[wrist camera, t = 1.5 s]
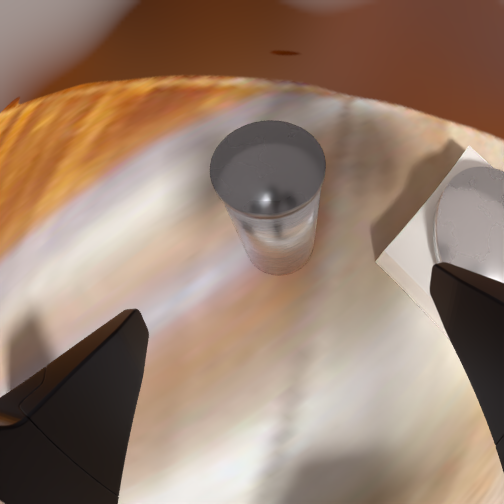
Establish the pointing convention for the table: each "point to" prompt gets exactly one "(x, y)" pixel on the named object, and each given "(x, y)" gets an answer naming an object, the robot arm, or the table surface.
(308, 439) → the table surface
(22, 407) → the robot arm
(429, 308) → the base
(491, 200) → the scale pan
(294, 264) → the steel weight
